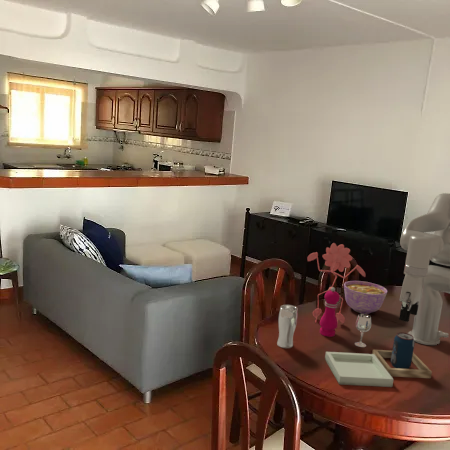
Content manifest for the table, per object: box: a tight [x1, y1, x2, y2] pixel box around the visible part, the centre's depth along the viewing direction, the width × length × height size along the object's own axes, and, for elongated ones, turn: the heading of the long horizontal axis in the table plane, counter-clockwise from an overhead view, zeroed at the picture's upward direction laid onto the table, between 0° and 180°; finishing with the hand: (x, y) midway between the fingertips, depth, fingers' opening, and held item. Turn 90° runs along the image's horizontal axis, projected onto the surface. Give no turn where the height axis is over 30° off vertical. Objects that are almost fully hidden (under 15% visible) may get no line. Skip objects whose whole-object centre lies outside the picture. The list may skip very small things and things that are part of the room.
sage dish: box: [324, 351, 394, 388], centre depth 167 cm, size 18×18×3 cm
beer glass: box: [276, 304, 299, 349], centre depth 183 cm, size 7×7×15 cm
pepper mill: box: [319, 286, 341, 338], centre depth 197 cm, size 7×7×20 cm
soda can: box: [390, 331, 416, 369], centre depth 173 cm, size 7×7×12 cm
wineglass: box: [354, 313, 372, 348], centre depth 189 cm, size 6×6×12 cm
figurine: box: [306, 242, 366, 326], centre depth 211 cm, size 15×26×35 cm, turn 65°
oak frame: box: [371, 349, 433, 379], centre depth 174 cm, size 15×15×2 cm
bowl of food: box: [343, 280, 388, 315], centre depth 229 cm, size 20×20×12 cm
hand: (408, 317), depth 171 cm, fingers open, 9 cm apart
